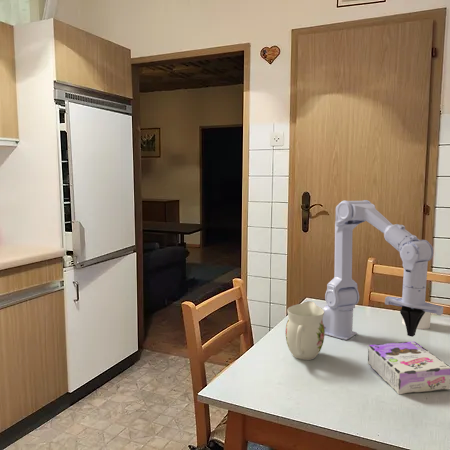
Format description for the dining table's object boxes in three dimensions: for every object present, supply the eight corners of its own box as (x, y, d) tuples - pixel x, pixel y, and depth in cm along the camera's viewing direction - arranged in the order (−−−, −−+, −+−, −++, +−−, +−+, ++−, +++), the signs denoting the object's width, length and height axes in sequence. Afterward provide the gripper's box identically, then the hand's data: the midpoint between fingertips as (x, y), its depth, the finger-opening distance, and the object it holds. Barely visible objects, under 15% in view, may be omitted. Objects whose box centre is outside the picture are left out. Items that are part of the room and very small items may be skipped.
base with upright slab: (405, 318, 165) (407, 286, 163) (432, 324, 160) (434, 290, 158) (399, 325, 158) (401, 291, 156) (426, 331, 152) (429, 296, 151)
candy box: (415, 340, 125) (453, 367, 109) (414, 360, 126) (452, 390, 110) (367, 344, 123) (400, 372, 107) (367, 364, 124) (398, 395, 108)
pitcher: (277, 365, 123) (278, 316, 122) (291, 342, 140) (292, 299, 139) (318, 372, 120) (320, 321, 118) (327, 347, 136) (329, 303, 135)
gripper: (448, 287, 119) (444, 337, 121) (392, 278, 129) (390, 325, 130) (440, 293, 114) (436, 345, 115) (383, 283, 123) (380, 331, 125)
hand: (411, 335), depth 122 cm, fingers closed
